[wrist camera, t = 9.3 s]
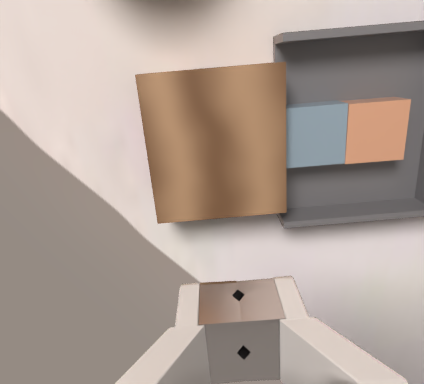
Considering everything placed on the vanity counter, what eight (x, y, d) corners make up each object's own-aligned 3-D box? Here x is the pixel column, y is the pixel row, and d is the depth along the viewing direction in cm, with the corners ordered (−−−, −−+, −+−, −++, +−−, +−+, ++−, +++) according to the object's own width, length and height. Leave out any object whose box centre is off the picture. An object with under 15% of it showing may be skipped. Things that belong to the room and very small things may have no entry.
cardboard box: (273, 62, 29) (286, 61, 24) (275, 193, 33) (286, 212, 29) (145, 73, 29) (135, 74, 24) (163, 203, 33) (157, 223, 29)
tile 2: (336, 100, 29) (348, 103, 27) (333, 156, 31) (344, 163, 29) (279, 105, 29) (286, 108, 27) (280, 160, 31) (286, 168, 29)
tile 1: (348, 104, 27) (337, 101, 29) (345, 164, 29) (334, 156, 31) (411, 99, 27) (394, 96, 29) (403, 159, 29) (388, 152, 31)
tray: (441, 22, 28) (473, 16, 25) (416, 200, 33) (439, 215, 30) (273, 36, 28) (282, 32, 25) (275, 212, 33) (283, 228, 30)
